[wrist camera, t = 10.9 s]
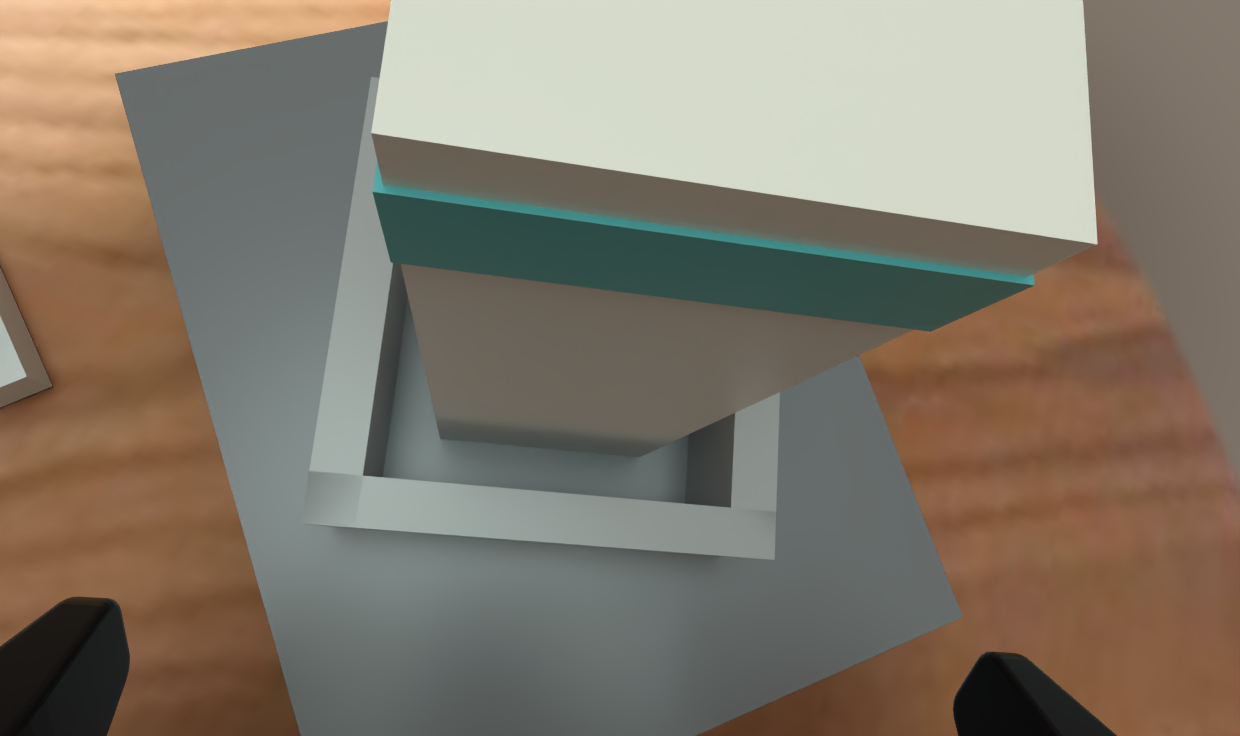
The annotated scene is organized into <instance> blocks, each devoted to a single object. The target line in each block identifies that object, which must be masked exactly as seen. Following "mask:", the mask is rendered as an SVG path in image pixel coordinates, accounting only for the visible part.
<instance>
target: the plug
mask: <svg viewBox="0 0 1240 736" xmlns="http://www.w3.org/2000/svg"><path fill="white" fill-rule="evenodd" d="M1083 12H1084V11H1083V0H391V6H390V13H389V20H388V26H387V33H386V39H385V46H384V52H383V59H382V65H381V72H380V78H379V85H378V92H377V98H376V105H375V111H374V118H373V124H372V131H371V135H372V139H373V143H374V148H375V152H376V157H377V164H376V171H375V177H374V184H373V191H372V192H373V196H374V200H375V204H376V208H377V212H378V215H379V219H380V223H381V227H382V231H383V235H384V239H385V242H386V246H387V250H388V254H389V258H390V262H391V263H399V264H401V268H402V272H403V276H404V281H405V285H406V290H407V294H408V299H409V303H410V307H411V312H412V316H413V321H414V325H415V330H416V334H417V339H418V343H419V347H420V352H421V356H422V361H423V365H424V370H425V374H426V378H427V383H428V387H429V392H430V396H431V401H432V405H433V410H434V414H435V418H436V423H437V427H438V432H439V436H440V439H448V440H459V441H470V442H480V443H491V444H502V445H512V446H523V447H534V448H544V449H555V450H566V451H576V452H587V453H597V454H608V455H619V456H629V457H641V456H643V455H645V454H648V453H650V452H652V451H654V450H656V449H658V448H660V447H663V446H665V445H667V444H669V443H671V442H673V441H676V440H678V439H680V438H682V437H684V436H686V435H688V434H691V433H693V432H695V431H697V430H699V429H701V428H703V427H706V426H708V425H710V424H712V423H714V422H716V421H719V420H721V419H723V418H725V417H727V416H729V415H731V414H734V413H736V412H738V411H740V410H742V409H744V408H746V407H749V406H751V405H753V404H755V403H757V402H759V401H761V400H764V399H766V398H768V397H770V396H772V395H774V394H777V393H779V392H781V391H783V390H785V389H787V388H789V387H792V386H794V385H796V384H798V383H800V382H802V381H804V380H807V379H809V378H811V377H813V376H815V375H817V374H820V373H822V372H824V371H826V370H828V369H830V368H832V367H835V366H837V365H839V364H841V363H843V362H845V361H847V360H850V359H852V358H854V357H856V356H858V355H860V354H862V353H865V352H867V351H869V350H871V349H873V348H875V347H878V346H880V345H882V344H884V343H886V342H888V341H890V340H893V339H895V338H897V337H899V336H901V335H903V334H905V333H908V332H910V331H912V330H914V329H915V330H923V331H930V332H931V331H933V330H935V329H937V328H940V327H942V326H944V325H946V324H949V323H951V322H953V321H955V320H958V319H960V318H962V317H964V316H967V315H969V314H971V313H973V312H976V311H978V310H980V309H982V308H985V307H987V306H989V305H991V304H994V303H996V302H998V301H1000V300H1003V299H1005V298H1007V297H1009V296H1012V295H1014V294H1016V293H1018V292H1021V291H1023V290H1025V289H1027V288H1030V287H1032V286H1034V273H1037V272H1039V271H1041V270H1043V269H1045V268H1047V267H1049V266H1052V265H1054V264H1056V263H1058V262H1060V261H1062V260H1065V259H1067V258H1069V257H1071V256H1073V255H1075V254H1077V253H1080V252H1082V251H1084V250H1086V249H1088V248H1090V247H1092V246H1095V245H1097V229H1096V213H1095V196H1094V179H1093V162H1092V145H1091V129H1090V112H1089V95H1088V78H1087V62H1086V46H1085V28H1084V13H1083Z"/></svg>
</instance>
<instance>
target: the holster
mask: <svg viewBox="0 0 1240 736" xmlns="http://www.w3.org/2000/svg"><path fill="white" fill-rule="evenodd" d="M50 387H52V384H51V382H50V379H49V377H48V375H47V372H46V370H45V368H44V366H43V363H42V361H41V359H40V356H39V354H38V352H37V350H36V347H35V345H34V343H33V340H32V338H31V336H30V334H29V331H28V329H27V327H26V325H25V322H24V320H23V318H22V315H21V313H20V311H19V309H18V306H17V304H16V302H15V299H14V297H13V295H12V293H11V290H10V288H9V286H8V283H7V281H6V279H5V277H4V274H3V272H2V270H1V267H0V407H3V406H5V405H8V404H10V403H13V402H15V401H18V400H20V399H23V398H25V397H28V396H30V395H32V394H35V393H37V392H40V391H42V390H45V389H47V388H50Z"/></svg>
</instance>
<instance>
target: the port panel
mask: <svg viewBox="0 0 1240 736" xmlns="http://www.w3.org/2000/svg"><path fill="white" fill-rule="evenodd" d="M387 26H388V21H387V22H382V23H376V24H371V25H366V26H361V27H356V28H351V29H345V30H340V31H335V32H330V33H325V34H319V35H314V36H309V37H304V38H299V39H293V40H288V41H283V42H278V43H273V44H268V45H262V46H257V47H252V48H247V49H242V50H236V51H231V52H226V53H221V54H216V55H210V56H205V57H200V58H195V59H190V60H184V61H179V62H174V63H169V64H164V65H159V66H153V67H148V68H143V69H138V70H133V71H127V72H122V73H117V74H115V76H116V80H117V83H118V87H119V90H120V94H121V97H122V101H123V105H124V108H125V112H126V115H127V119H128V122H129V126H130V129H131V133H132V137H133V140H134V144H135V147H136V151H137V154H138V158H139V162H140V165H141V169H142V172H143V176H144V179H145V183H146V187H147V190H148V194H149V197H150V201H151V204H152V208H153V211H154V215H155V219H156V222H157V226H158V229H159V233H160V236H161V240H162V244H163V247H164V251H165V254H166V258H167V261H168V265H169V268H170V272H171V276H172V279H173V283H174V286H175V290H176V293H177V297H178V301H179V304H180V308H181V311H182V315H183V318H184V322H185V325H186V329H187V333H188V336H189V340H190V343H191V347H192V350H193V354H194V358H195V361H196V365H197V368H198V372H199V375H200V379H201V382H202V386H203V390H204V393H205V397H206V400H207V404H208V407H209V411H210V415H211V418H212V422H213V425H214V429H215V432H216V436H217V439H218V443H219V447H220V450H221V454H222V457H223V461H224V464H225V468H226V472H227V475H228V479H229V482H230V486H231V489H232V493H233V496H234V500H235V504H236V507H237V511H238V514H239V518H240V521H241V525H242V529H243V532H244V536H245V539H246V543H247V546H248V550H249V553H250V557H251V561H252V564H253V568H254V571H255V575H256V578H257V582H258V586H259V589H260V593H261V596H262V600H263V603H264V607H265V610H266V614H267V618H268V621H269V625H270V628H271V632H272V635H273V639H274V643H275V646H276V650H277V653H278V657H279V660H280V664H281V668H282V671H283V675H284V678H285V682H286V685H287V689H288V692H289V696H290V700H291V703H292V707H293V710H294V714H295V717H296V721H297V725H298V728H299V732H300V735H301V736H696V735H699V734H701V733H703V732H705V731H708V730H710V729H712V728H714V727H717V726H719V725H721V724H723V723H726V722H728V721H730V720H732V719H735V718H737V717H739V716H741V715H744V714H746V713H748V712H750V711H753V710H755V709H757V708H759V707H762V706H764V705H766V704H768V703H771V702H773V701H775V700H777V699H779V698H782V697H784V696H786V695H788V694H791V693H793V692H795V691H797V690H800V689H802V688H804V687H806V686H809V685H811V684H813V683H815V682H818V681H820V680H822V679H824V678H827V677H829V676H831V675H833V674H836V673H838V672H840V671H842V670H845V669H847V668H849V667H851V666H854V665H856V664H858V663H860V662H863V661H865V660H867V659H869V658H872V657H874V656H876V655H878V654H881V653H883V652H885V651H887V650H890V649H892V648H894V647H896V646H898V645H901V644H903V643H905V642H907V641H910V640H912V639H914V638H916V637H919V636H921V635H923V634H925V633H928V632H930V631H932V630H934V629H937V628H939V627H941V626H943V625H946V624H948V623H950V622H952V621H955V620H957V619H959V618H961V617H963V616H962V614H961V611H960V609H959V606H958V604H957V601H956V598H955V596H954V593H953V591H952V588H951V586H950V583H949V581H948V578H947V576H946V573H945V571H944V568H943V566H942V563H941V561H940V558H939V556H938V553H937V551H936V548H935V546H934V543H933V541H932V538H931V535H930V533H929V530H928V528H927V525H926V523H925V520H924V518H923V515H922V513H921V510H920V508H919V505H918V503H917V500H916V498H915V495H914V493H913V490H912V488H911V485H910V483H909V480H908V478H907V475H906V473H905V470H904V467H903V465H902V462H901V460H900V457H899V455H898V452H897V450H896V447H895V445H894V442H893V440H892V437H891V435H890V432H889V430H888V427H887V425H886V422H885V420H884V417H883V415H882V412H881V410H880V407H879V404H878V402H877V399H876V397H875V394H874V392H873V389H872V387H871V384H870V382H869V379H868V377H867V374H866V372H865V369H864V367H863V364H862V362H861V359H860V357H859V355H858V356H856V357H854V358H852V359H850V360H847V361H845V362H843V363H841V364H839V365H837V366H835V367H832V368H830V369H828V370H826V371H824V372H822V373H820V374H817V375H815V376H813V377H811V378H809V379H807V380H804V381H802V382H800V383H798V384H796V385H794V386H792V387H789V388H787V389H785V390H783V391H781V392H779V393H777V394H774V395H772V396H770V397H768V398H766V399H764V400H761V401H759V402H757V403H755V404H753V405H751V406H749V407H746V408H744V409H742V410H740V411H738V412H736V413H734V414H731V415H729V416H727V417H725V418H723V419H721V420H719V421H716V422H714V423H712V424H710V425H708V426H706V427H703V428H701V429H699V430H697V431H695V432H693V433H691V434H688V435H686V436H684V437H682V438H680V439H678V440H676V441H673V442H671V443H669V444H667V445H665V446H663V447H660V448H658V449H656V450H654V451H652V452H650V453H648V454H645V455H643V456H641V457H629V456H619V455H608V454H597V453H587V452H576V451H566V450H555V449H544V448H534V447H523V446H512V445H502V444H491V443H480V442H470V441H459V440H448V439H440V436H439V432H438V427H437V423H436V418H435V414H434V410H433V405H432V401H431V396H430V392H429V387H428V383H427V378H426V374H425V370H424V365H423V361H422V356H421V352H420V347H419V343H418V339H417V334H416V330H415V325H414V321H413V316H412V312H411V307H410V303H409V299H408V294H407V290H406V285H405V281H404V276H403V272H402V268H401V264H399V263H391V262H390V258H389V254H388V250H387V246H386V242H385V239H384V235H383V231H382V227H381V223H380V219H379V215H378V212H377V208H376V204H375V200H374V196H373V192H372V191H373V184H374V177H375V171H376V164H377V157H376V152H375V148H374V143H373V139H372V135H371V131H372V124H373V118H374V111H375V105H376V98H377V92H378V85H379V78H380V72H381V65H382V59H383V52H384V46H385V39H386V33H387Z"/></svg>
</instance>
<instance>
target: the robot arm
mask: <svg viewBox="0 0 1240 736" xmlns="http://www.w3.org/2000/svg"><path fill="white" fill-rule="evenodd" d="M129 664H130V654H129V648H128V643H127V638H126V633H125V628H124V623H123V618H122V612H121V609H120V606H119V604H118V603H117V602H116V601H115V600H113V599H108V598H91V597H71V598H68V599H65V600H63V601H61V602H60V603H58V604H57V605H55V606H54V607H53V608H51V609H50V610H49V611H47V612H46V613H45V614H43V615H42V616H41V617H39V618H38V619H37V620H35V621H34V622H33V623H31V624H30V625H28V626H27V627H26V628H24V629H23V630H22V631H20V632H19V633H18V634H16V635H15V636H14V637H12V638H11V639H10V640H8V641H7V642H6V643H4V644H3V645H2V646H0V736H107V734H108V731H109V728H110V725H111V722H112V719H113V716H114V714H115V711H116V708H117V705H118V702H119V699H120V697H121V694H122V691H123V688H124V685H125V682H126V679H127V675H128V671H129ZM953 712H954V720H955V724H956V728H957V732H958V736H1117V735H1116V734H1114V733H1113V732H1112V731H1111V730H1110V729H1109V728H1107V727H1106V726H1105V725H1104V724H1103V723H1102V722H1101V721H1099V720H1098V719H1097V718H1096V717H1095V716H1094V715H1092V714H1091V713H1090V712H1089V711H1088V710H1087V709H1085V708H1084V707H1083V706H1082V705H1081V704H1080V703H1079V702H1077V701H1076V700H1075V699H1074V698H1073V697H1072V696H1070V695H1069V694H1068V693H1067V692H1066V691H1065V690H1063V689H1062V688H1061V687H1060V686H1059V685H1058V684H1056V683H1055V682H1054V681H1053V680H1052V679H1051V678H1050V677H1048V676H1047V675H1046V674H1045V673H1044V672H1043V671H1041V670H1040V669H1039V668H1038V667H1037V666H1036V665H1034V664H1033V663H1032V662H1031V661H1030V660H1028V659H1027V658H1026V657H1024V656H1022V655H1020V654H1016V653H1005V652H986V653H984V654H983V655H981V656H980V657H979V659H978V660H977V662H976V663H975V665H974V666H973V668H972V670H971V671H970V673H969V674H968V676H967V677H966V679H965V681H964V682H963V684H962V685H961V687H960V689H959V690H958V692H957V694H956V696H955V699H954V705H953Z"/></svg>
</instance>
